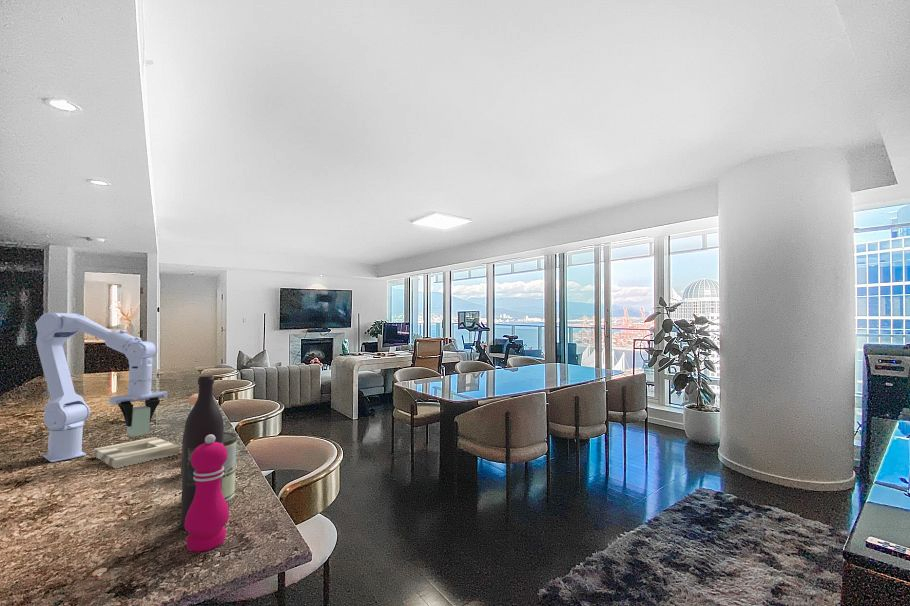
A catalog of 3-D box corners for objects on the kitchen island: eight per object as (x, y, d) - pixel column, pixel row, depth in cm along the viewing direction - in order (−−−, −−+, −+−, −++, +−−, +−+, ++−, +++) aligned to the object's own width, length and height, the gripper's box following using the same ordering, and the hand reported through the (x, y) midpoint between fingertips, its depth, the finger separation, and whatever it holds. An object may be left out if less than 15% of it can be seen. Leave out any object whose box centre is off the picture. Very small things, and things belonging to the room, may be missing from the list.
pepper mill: (196, 533, 80) (200, 429, 81) (235, 532, 81) (238, 429, 82) (174, 554, 73) (179, 440, 74) (217, 552, 74) (221, 439, 75)
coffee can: (179, 511, 90) (182, 445, 91) (189, 493, 99) (191, 434, 100) (233, 503, 94) (235, 440, 95) (237, 487, 103) (239, 430, 104)
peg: (126, 434, 127) (127, 408, 127) (143, 431, 130) (144, 405, 131) (132, 436, 124) (133, 410, 125) (149, 433, 128) (150, 407, 128)
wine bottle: (178, 534, 80) (184, 379, 81) (182, 519, 86) (188, 375, 88) (219, 526, 83) (224, 377, 85) (221, 512, 89) (226, 373, 91)
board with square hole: (94, 456, 126) (94, 448, 126) (155, 444, 139) (155, 436, 139) (115, 469, 115) (115, 459, 116) (178, 454, 129) (179, 446, 129)
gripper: (115, 384, 120) (113, 431, 119) (172, 378, 132) (170, 421, 131) (107, 382, 124) (105, 427, 123) (162, 377, 136) (161, 418, 135)
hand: (138, 424), depth 128 cm, fingers closed on peg, 4 cm apart
